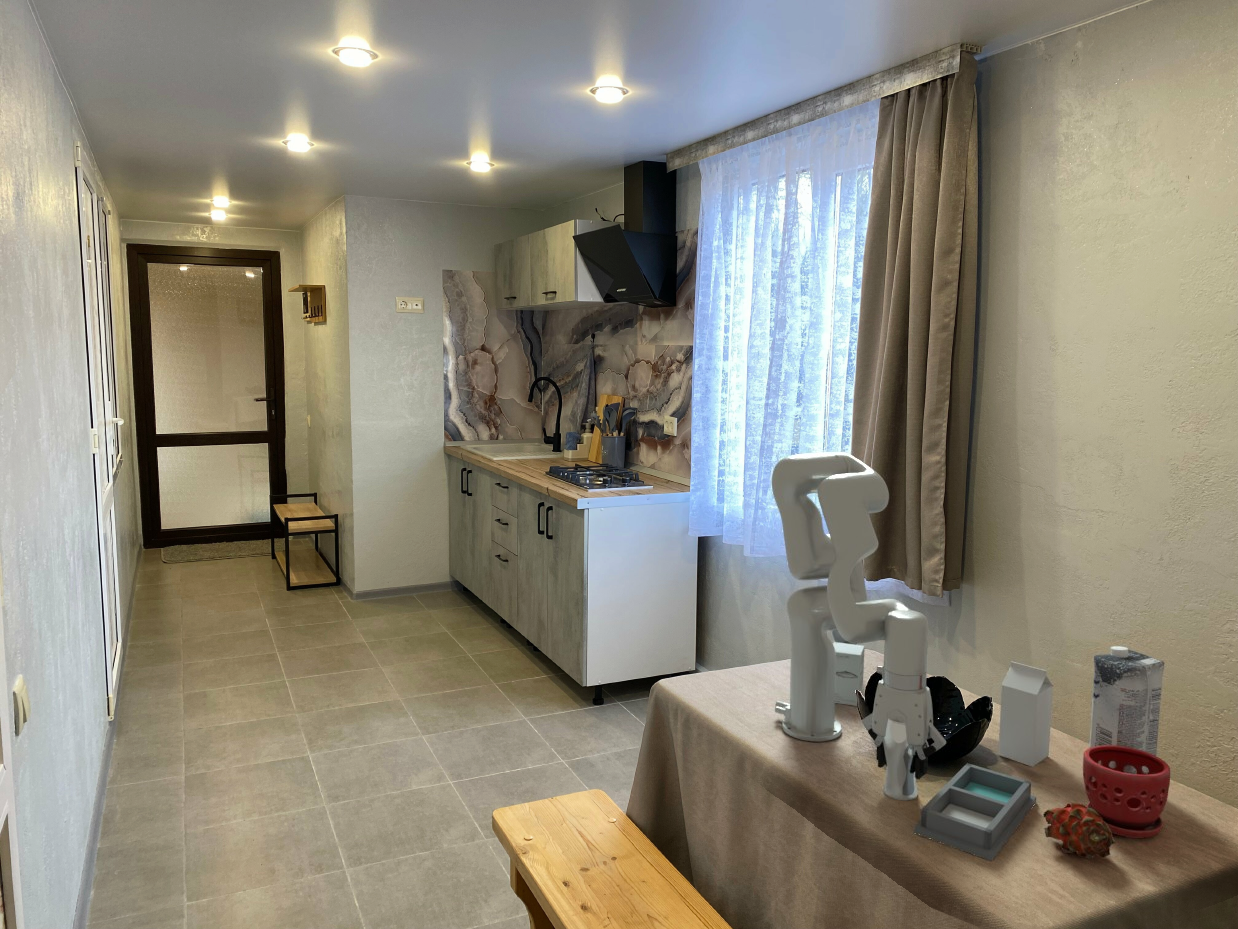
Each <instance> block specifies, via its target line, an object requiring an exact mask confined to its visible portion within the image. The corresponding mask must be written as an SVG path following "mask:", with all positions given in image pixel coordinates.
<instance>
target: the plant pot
mask: <svg viewBox="0 0 1238 929" xmlns="http://www.w3.org/2000/svg"><path fill="white" fill-rule="evenodd" d="M1099 761H1101V764H1100V765H1099V764H1098V762H1099ZM1111 761H1114V762H1116V766H1115V767H1114V768H1111V767H1110V766H1109V763H1110V762H1111ZM1127 765H1131V766H1133V767H1134V768H1135V769H1136V771H1137V774H1129V773H1125V772H1124V767H1125V766H1127ZM1143 766H1145V767H1147V768H1148V770H1149V772H1148V773H1144V772H1143V770H1142V767H1143ZM1092 776H1093V777H1094V779H1093V780H1092ZM1082 778H1083V784H1084V791H1085V794H1086V797H1087V799H1088V801H1089V803H1087V805H1086V807H1087V808H1091V809H1093V810H1095V811H1096V812H1097V813H1098V814H1099V815H1100V816H1101V817H1102V819H1103V821H1104V822H1106V824H1107V825H1108V826H1109V828H1110V829H1111V832H1112V834H1115V835H1118V836H1121V837H1126V838H1133V839H1147V838H1150V837H1153V836H1155V835H1158V833H1160V832H1161V831H1162V830H1163V827H1164V822H1163V820H1162V818H1161V814H1162V813H1163V811H1164V809H1165V807H1166V804H1167V802H1168V796H1169V790H1170V784H1171V783H1170V782H1171V768H1170V766H1169V764H1168V763H1167V762H1166V761H1164V760H1163V759H1162V758H1160V757H1159V756H1157V755H1156V756H1155V755H1152V754H1150V753H1148V752H1145V751H1141V750H1138V749H1134V748H1129V747H1123V746H1114V745H1102V746H1095V747H1091V748H1089V747H1088V748H1087V749H1086V750H1085V751H1084V752H1083V758H1082Z"/></svg>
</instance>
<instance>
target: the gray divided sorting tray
mask: <svg viewBox="0 0 1238 929" xmlns="http://www.w3.org/2000/svg"><path fill="white" fill-rule="evenodd" d="M1035 803H1036V804H1037V796H1035V795H1033V794H1032V781H1029V780H1026V779H1023V778H1020V777H1015V776H1012V775H1009V774H1006V773H1002V772H998V771H996V770H992V769H989V768H986V767H981V766H979V765H976V764H972V763H968V762H967V763H965V765H964V766H962V768H961V769H960V770H959V771H958V772H957V773H956V774H955V775H954V776H953V777H951V779H950V780H949V781H947V783H946V784H944V786H942V787H941V789H940V790H939V791H937V793H936V794H935V795H934V796H933V797H932V798H930V800H929V801H928V802H927V803H926V804H925V805H924V806H922V808H921V809H920V820H919V821H917V823H916V824H915V825H913V834H914V833H916V834H915V835H917V834H920V835H922V836H921V837H923V836H925V837H927V838H926V839H928V838H931V839H933V840H932V841H934V840H935V841H934V842H937V841H938V842H937V843H939V842H941V843H940V844H942V843H944V844H943V845H945V844H946V845H945V846H948V845H949V846H948V847H951V846H952V848H953V847H954V849H956V848H957V850H959V849H960V851H962V850H963V852H965V853H968V854H970V853H972V854H971V855H973V854H975V855H974V856H976V855H977V857H979V858H983V859H984V860H986V861H987V860H988V861H990V862H993V860H994V859H995V857H997V855H998V854H999V852H1000V851H1002V849H1003V847H1004V846H1005V844H1006V843H1007V842H1008V841H1009V839H1010V838H1011V836H1012V835H1013V834H1014V833H1015V831H1016V830H1017V829H1018V827H1019V826H1020V825H1021V823H1023V821H1024V819H1025V818H1026V817H1027V816H1028V815H1029V813H1030V812H1029V811H1031V810H1032V809H1033V808H1034V806H1035V805H1036V804H1035ZM1034 804H1035V805H1034ZM1033 805H1034V806H1033ZM1032 807H1033V808H1032ZM1031 808H1032V809H1031ZM1028 812H1029V813H1028ZM1025 816H1026V817H1025ZM1022 820H1023V821H1022ZM1019 824H1020V825H1019ZM1016 828H1017V829H1016ZM920 835H919V836H920ZM925 837H924V838H925ZM931 839H930V840H931Z"/></svg>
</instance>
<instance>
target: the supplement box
mask: <svg viewBox="0 0 1238 929" xmlns="http://www.w3.org/2000/svg"><path fill="white" fill-rule="evenodd" d="M832 644H833V646H834V648H835V651H836V681H835V704H838V705H839V704H841V705H848V706H854V707H857V700H856V693H855V690H859V691H861V693H863V692H864V691H863V690H864V688H863V687H864V673H865V672H864V670H865V649H866V646H865V645H863V644H862V645H860V644H856V645H853V644H845V643H837V642H835V641H833V642H832ZM863 694H864V693H863Z"/></svg>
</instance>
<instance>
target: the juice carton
mask: <svg viewBox="0 0 1238 929" xmlns="http://www.w3.org/2000/svg"><path fill="white" fill-rule="evenodd" d="M1093 665H1094V670H1093V672H1094V673H1093V688H1092V703H1091V716H1090V718H1091V719H1090V734H1089V747H1088V749H1089V748H1091V747H1095V746H1102V745H1114V746H1123V747H1129V748H1134V749H1138V750H1141V751H1145V752H1148V753H1150V754H1152V755H1155V756H1157V752H1158V750H1157V749H1158V739H1159V738H1158V737H1159V729H1160V728H1159V727H1160V726H1159V724H1160V713H1161V700H1162V699H1161V697H1162V688H1163V686H1162V685H1163V675H1164V670H1165V661H1163V660H1161V659H1157V658H1155V657H1151V656H1149V655H1146V654H1143V653H1140V652H1137V651H1134V650H1132V649H1129V648H1128V647H1126V646H1120V645H1117V646H1115V645H1113V646H1110V653H1108V654H1106V653H1105V654H1095V655H1094V656H1093ZM1098 764H1099V765H1100V764H1101V761H1099V762H1098ZM1109 766H1110V767H1111V768H1114V767H1115V766H1116V762H1114V761H1111V762H1110V763H1109ZM1142 770H1143V772H1144V773H1148V772H1149V770H1148V768H1147V767H1145V766H1143V767H1142ZM1124 772H1125V773H1129V774H1137V771H1136V769H1135V768H1134V767H1133V766H1131V765H1127V766H1125V767H1124ZM1093 779H1094V777H1093V776H1092V780H1093Z"/></svg>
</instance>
